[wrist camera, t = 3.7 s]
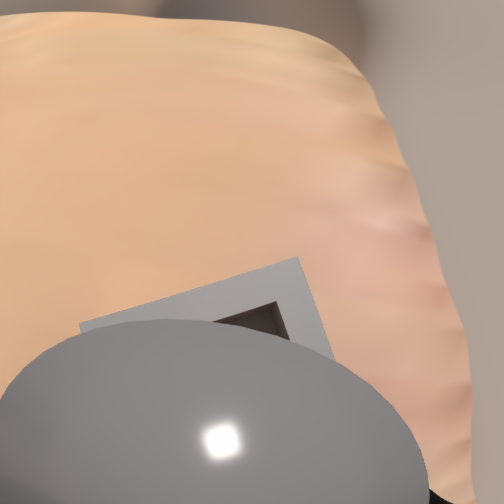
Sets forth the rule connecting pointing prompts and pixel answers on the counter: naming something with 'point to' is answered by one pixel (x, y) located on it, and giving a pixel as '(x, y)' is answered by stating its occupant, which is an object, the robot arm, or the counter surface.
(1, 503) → the jar
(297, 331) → the holder
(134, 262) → the counter surface
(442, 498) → the robot arm
